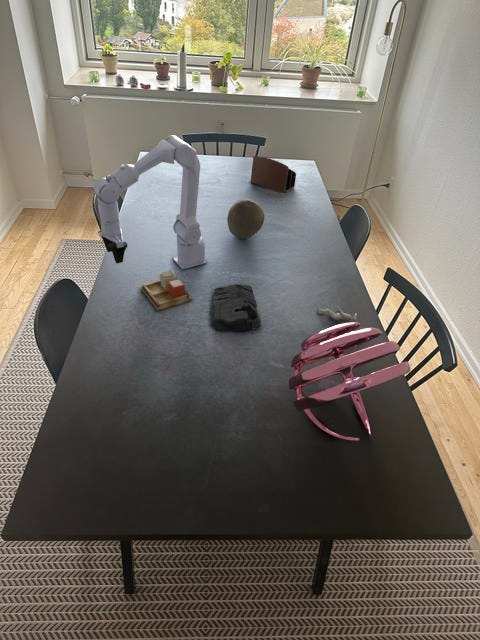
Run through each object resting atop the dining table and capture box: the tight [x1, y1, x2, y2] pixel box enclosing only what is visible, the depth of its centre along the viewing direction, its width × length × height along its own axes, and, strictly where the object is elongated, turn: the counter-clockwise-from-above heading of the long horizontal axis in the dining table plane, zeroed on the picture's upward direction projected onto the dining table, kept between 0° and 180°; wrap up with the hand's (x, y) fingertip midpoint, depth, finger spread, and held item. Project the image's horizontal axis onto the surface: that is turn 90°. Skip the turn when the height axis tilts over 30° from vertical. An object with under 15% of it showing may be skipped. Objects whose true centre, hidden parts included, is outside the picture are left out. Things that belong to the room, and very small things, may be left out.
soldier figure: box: [317, 305, 358, 322], centre depth 144 cm, size 8×5×12 cm
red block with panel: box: [168, 279, 185, 299], centre depth 146 cm, size 4×4×5 cm
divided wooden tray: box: [140, 279, 192, 312], centre depth 148 cm, size 12×13×2 cm
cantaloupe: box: [226, 198, 265, 239], centre depth 178 cm, size 14×14×15 cm
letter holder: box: [250, 155, 297, 195], centre depth 219 cm, size 10×20×14 cm, turn 55°
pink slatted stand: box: [288, 321, 411, 442], centre depth 106 cm, size 28×28×27 cm
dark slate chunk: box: [210, 283, 262, 332], centre depth 144 cm, size 15×22×5 cm
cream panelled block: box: [159, 269, 177, 289], centre depth 150 cm, size 4×4×5 cm
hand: (115, 256), depth 146 cm, fingers open, 7 cm apart
